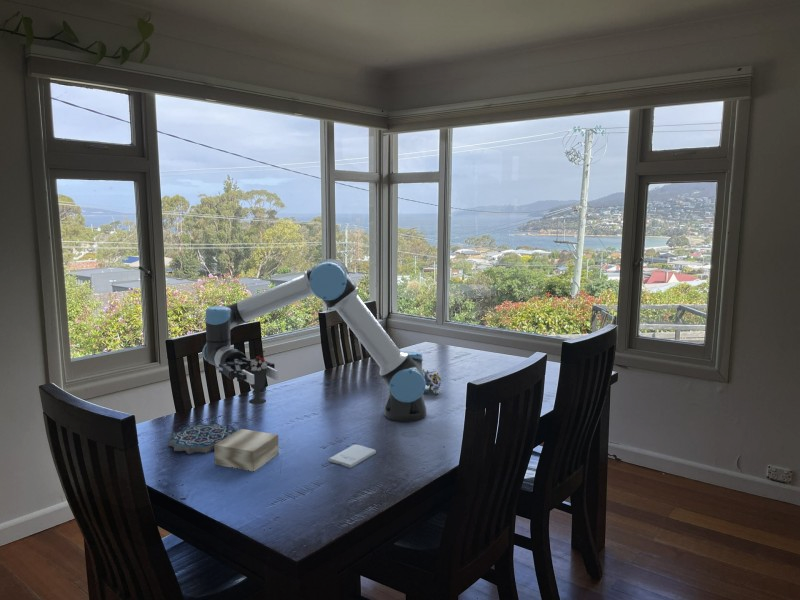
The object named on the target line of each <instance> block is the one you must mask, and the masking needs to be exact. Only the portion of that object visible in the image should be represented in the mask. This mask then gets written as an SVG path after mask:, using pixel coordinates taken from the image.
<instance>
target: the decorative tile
mask: <svg viewBox="0 0 800 600" xmlns="http://www.w3.org/2000/svg"><path fill="white" fill-rule="evenodd" d="M237 431H238V430H237V429H233V428H231V426H230V425H220V424H219V423H217V422H216V423H211V424H204V423H200V424H197V425H194V426H187V427H186V426H185V427H184V428H183V429H182V430H180V431H175V432H172V437H171V438H169V439H168V446H169V447H173V451H174V452H184V451H186V452H185V453H187V454H188V455H190V454H195V453H204V452H205V453H204V454H208V453H210V452H211V450H212V451H213V449H214V445H215V444H216V443H218V442H220V441H221V440H223V439H225V438H227V437H228V436H230V435H232V434H233V433H235V432H237ZM209 451H210V452H209ZM194 452H195V453H194ZM207 452H208V453H207Z"/></svg>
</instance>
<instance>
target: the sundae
mask: <svg viewBox="0 0 800 600" xmlns="http://www.w3.org/2000/svg"><path fill="white" fill-rule="evenodd" d="M265 352H266V351H265V350H262V351H261V354H259V355H257V356H256V357H255V358H253V359H251V360H252V361H251V364H250V366H249V364H248V362H247V365H248V367H246V369H245V370H246V371H248V372H250V373H252V374H254V384H250V383H249V386H250V387H251V389H252V390H253V391H254V395H255V396H254V398H251V399H249V401H248V403H249V404H251V405H261V404H265V403H266V402H267V399H266V398H262V397H261V394H260V391H261V390H262V389H263V388H264V386H265V384H266V379H267V376H266V372H267V370H268V369H269V368H268V367H267V364H266V363H265V362H264V361H266V360H265V358H264V357H263V355H264V353H265ZM260 358H261V359H260Z"/></svg>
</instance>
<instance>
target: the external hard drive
mask: <svg viewBox="0 0 800 600" xmlns="http://www.w3.org/2000/svg"><path fill="white" fill-rule="evenodd" d="M376 453H377V450H376V449H374V448H370V447H367V446H364V445H361V444H357V443H355V444H352V445H351V446H349V447H347V448H345V449H343V450H342V451H340V452H337V453H336V454H334V455H333V456H331V457H329V458H328V462H331V463H334V464H337V465H341V466H343V467H347V468H350V469H352V468H354V467H355V466H356V465H358V464H360V463H361V462H364V461H365V460H366V459H368V458H370V457H372V456H373V455H375V454H376Z"/></svg>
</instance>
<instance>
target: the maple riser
mask: <svg viewBox="0 0 800 600" xmlns="http://www.w3.org/2000/svg"><path fill="white" fill-rule="evenodd" d="M279 448H280V446H279V434H277V433H276V434H275V433H271V432H265V431H264V432H263V431H257V430H251V429H245V428H240V429H238V430H237V432H235V433H233V434H232V435H230V436H228V437H227V438H225V439H223V440H221V441H220V442H218V443H216V444H215V445H214V465H216V466H220V465H221V467H227V468H231V467H233V468H232V469H237V468H238V470H242V469H244V471H248V470H249V472H253V471H254V472H255V471H257V470H258V469H260V468H261V467H263V466H264V465H265V464H266V462H267V463H269V461H271V460H272V459H273V458H275V457H276V456H277V454H278V455H279V454H280V452H279V450H280V449H279Z"/></svg>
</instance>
